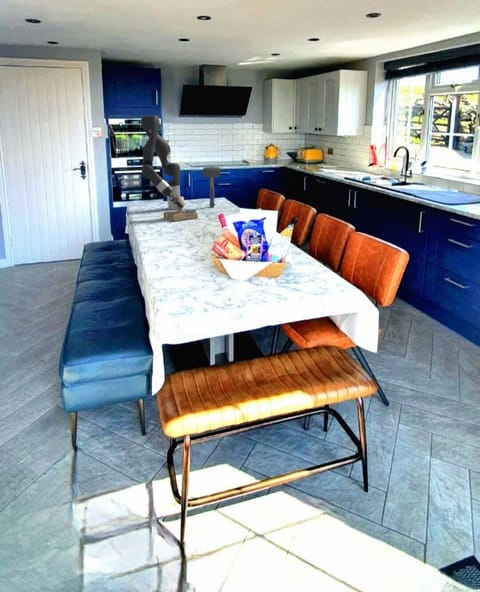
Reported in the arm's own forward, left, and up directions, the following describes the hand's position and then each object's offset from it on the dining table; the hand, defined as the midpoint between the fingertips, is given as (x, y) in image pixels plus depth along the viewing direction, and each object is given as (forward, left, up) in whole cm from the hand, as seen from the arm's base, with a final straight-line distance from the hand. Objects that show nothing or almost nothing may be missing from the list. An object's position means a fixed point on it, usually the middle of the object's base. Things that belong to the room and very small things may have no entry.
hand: (182, 206), depth 345 cm
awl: (-1, -1, -6) cm, 6 cm away
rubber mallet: (-22, +39, -8) cm, 45 cm away
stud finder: (+3, +4, -4) cm, 7 cm away
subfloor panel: (-1, -1, -8) cm, 8 cm away
